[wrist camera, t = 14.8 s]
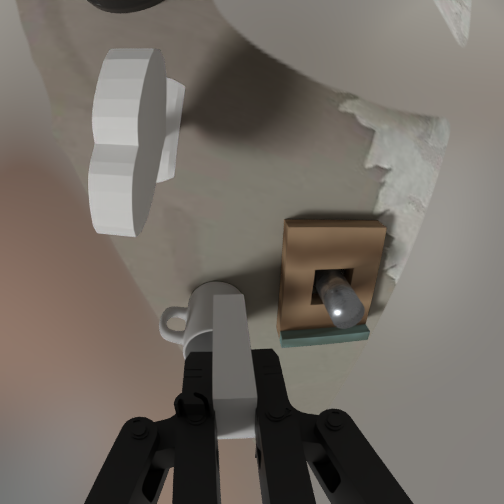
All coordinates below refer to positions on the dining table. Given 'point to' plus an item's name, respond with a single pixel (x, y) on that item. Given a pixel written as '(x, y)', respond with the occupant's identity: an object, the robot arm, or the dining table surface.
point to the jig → (325, 257)
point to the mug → (196, 318)
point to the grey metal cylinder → (338, 298)
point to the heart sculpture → (132, 138)
